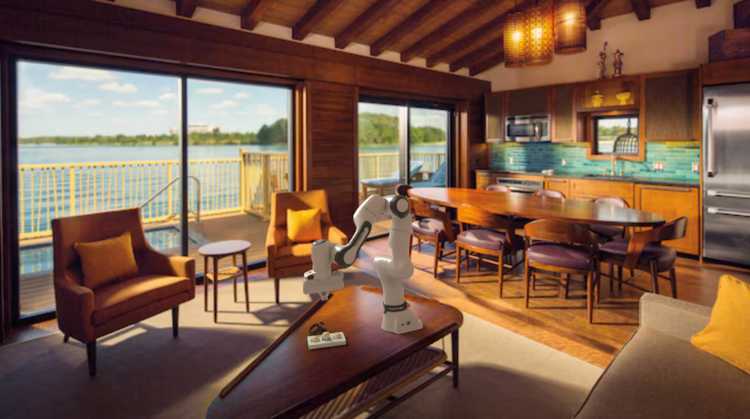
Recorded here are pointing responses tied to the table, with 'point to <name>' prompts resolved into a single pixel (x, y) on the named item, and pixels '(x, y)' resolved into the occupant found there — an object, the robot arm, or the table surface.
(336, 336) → the button
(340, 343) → the button board
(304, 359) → the table surface
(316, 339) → the button
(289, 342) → the table surface
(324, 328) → the pottery mug
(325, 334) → the button
